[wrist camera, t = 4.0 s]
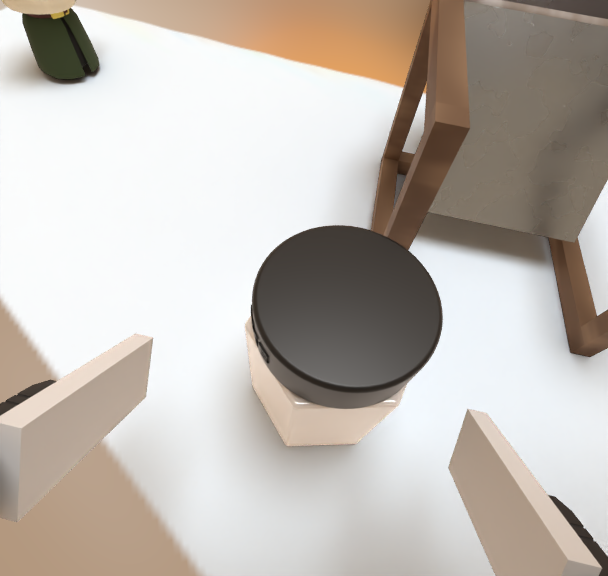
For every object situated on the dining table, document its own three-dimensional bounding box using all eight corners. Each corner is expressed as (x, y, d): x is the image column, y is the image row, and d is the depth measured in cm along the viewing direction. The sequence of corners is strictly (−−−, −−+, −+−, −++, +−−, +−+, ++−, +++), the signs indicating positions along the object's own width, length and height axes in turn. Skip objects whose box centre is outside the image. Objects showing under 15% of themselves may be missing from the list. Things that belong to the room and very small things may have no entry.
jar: (296, 309, 29) (310, 193, 19) (394, 358, 27) (467, 261, 17) (230, 414, 24) (203, 336, 14) (343, 480, 23) (403, 445, 13)
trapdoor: (641, -18, 29) (733, -60, 22) (533, 217, 37) (574, 242, 30) (463, -49, 30) (495, -100, 23) (395, 189, 38) (403, 207, 31)
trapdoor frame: (554, 195, 38) (710, 16, 25) (590, 356, 29) (877, 208, 15) (381, 160, 39) (440, -32, 26) (359, 305, 29) (435, 121, 16)
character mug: (52, 102, 40) (-29, -58, 29) (9, 78, 42) (-84, -82, 31) (130, 61, 45) (86, -86, 34) (89, 41, 47) (34, -105, 36)
